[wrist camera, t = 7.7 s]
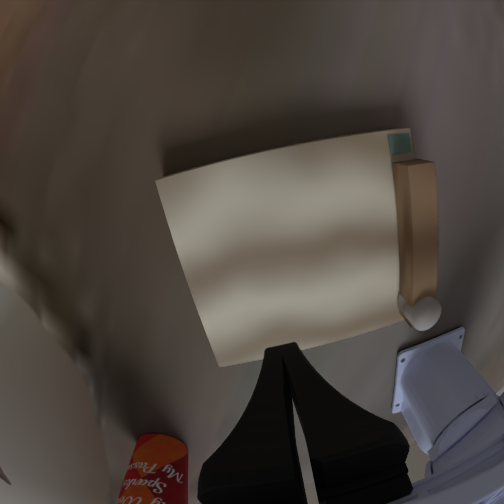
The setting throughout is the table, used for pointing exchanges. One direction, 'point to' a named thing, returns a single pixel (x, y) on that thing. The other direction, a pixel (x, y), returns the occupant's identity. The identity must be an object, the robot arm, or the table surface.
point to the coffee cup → (156, 472)
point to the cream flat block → (291, 242)
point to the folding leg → (417, 241)
